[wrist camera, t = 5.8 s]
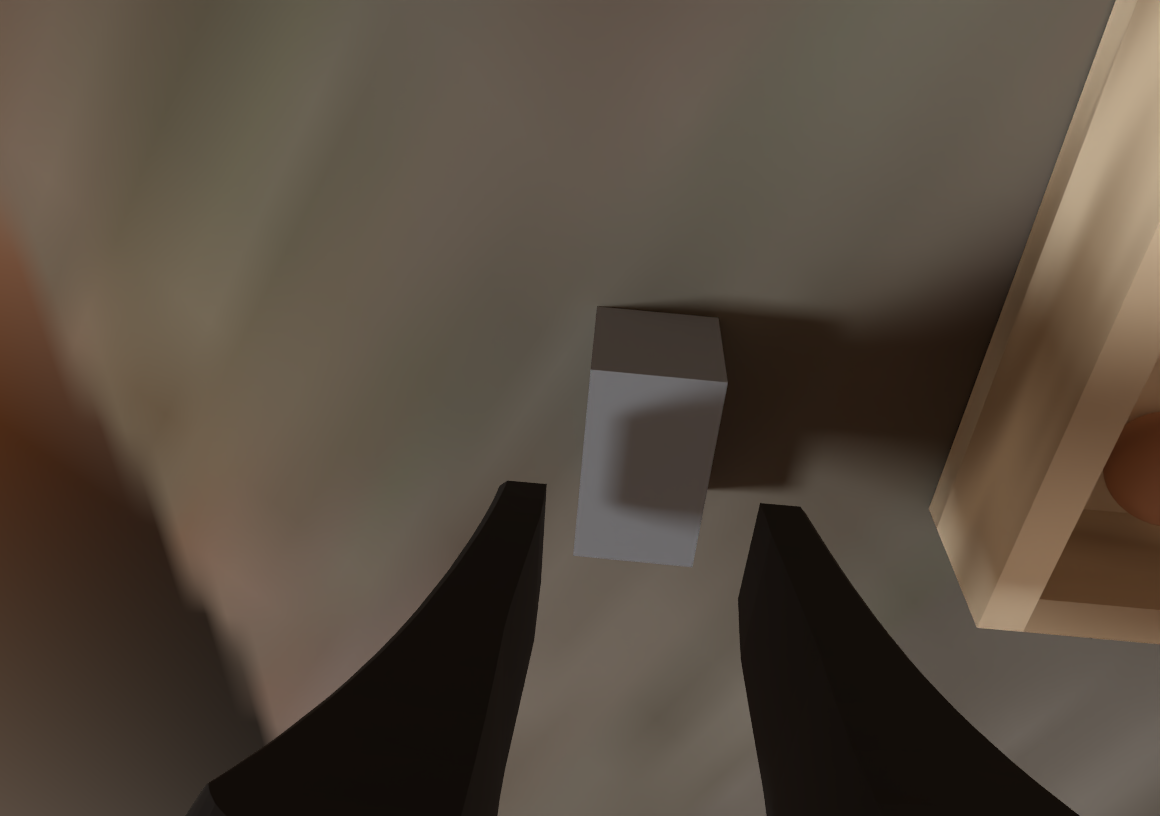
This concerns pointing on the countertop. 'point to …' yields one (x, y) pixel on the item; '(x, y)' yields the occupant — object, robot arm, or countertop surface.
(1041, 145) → the countertop surface
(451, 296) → the countertop surface
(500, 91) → the countertop surface
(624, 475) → the lid
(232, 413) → the countertop surface
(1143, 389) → the box
